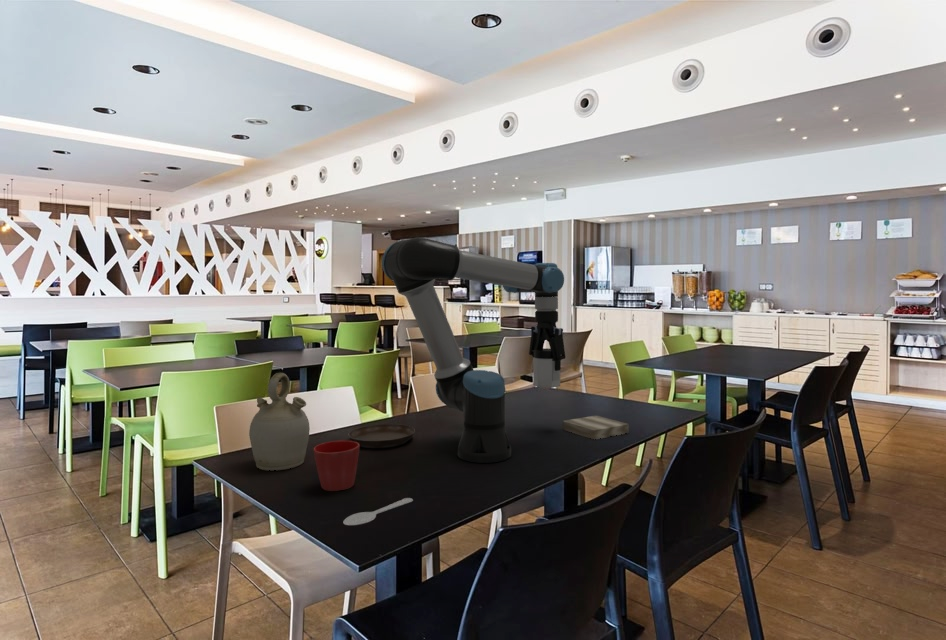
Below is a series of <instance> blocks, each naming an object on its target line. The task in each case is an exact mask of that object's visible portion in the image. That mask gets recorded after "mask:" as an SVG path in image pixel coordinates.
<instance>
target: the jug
mask: <svg viewBox="0 0 946 640" xmlns="http://www.w3.org/2000/svg"><path fill="white" fill-rule="evenodd" d="M279 381H280V383H281V386H280V387H281V389H280V392H279V393H278V391H277V390H278V384H279ZM290 384H291V382H290V378H289V376H288V375H287V374H286V373H284V372H276V373H275V374H273V375H272V376H271V377H270V379H269V382H268V385H267V395H268V398H269V399H270V400H271V403H268V400H266V399H264V398H263V397H261V396H258V397H257V398H256V402H257V403H256V404H257V405H256V407H258V408H259V409H258V411H257V412H256V413H255V414H254V416H253V418H251V422H250V425H249V431H248V433H249V434H248V436H249V440H250V445H251V451H252V455H253V460H254V462H255V466H256V468H257V469H258V468H259V470H260V471H269V470H270V471H271V472H272V471H273V472H274V470H276V471H282V470H283V471H284V470H291V469H294V468H296V467H298V466H301V465H302V464H303V463H304V462H305V458H306V454H307V448H308V444H309V439H310V421H309V418H308V416H307V415H306V411H304V410H303V409H302V408H304V407H306V406H307V402H306V401H305V399H303V398H301V397H299V396H294V397H293V398H292V403H291V402H289V401H288V400H287V396H289V391H290V387H291V385H290ZM290 468H291V469H290Z"/></svg>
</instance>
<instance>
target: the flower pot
mask: <svg viewBox="0 0 946 640" xmlns="http://www.w3.org/2000/svg"><path fill="white" fill-rule="evenodd" d="M360 447H361V446H360V445H359V443H357V442H354V441H352V440H332V441H327V442H322V443H319V444H317V445H316V446H314V447H313V455H314V460H315V461H314V462H315V466H316V471H317V475H318V479H319V483H320V487H321V489H323V490H324V491H328V492H339V491H342V490H343V491H344V490H348V489H350V488H352V487H353V486H354V485H355V480H356V474H357V471H358V462H359V454H360Z"/></svg>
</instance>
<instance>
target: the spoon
mask: <svg viewBox="0 0 946 640" xmlns="http://www.w3.org/2000/svg"><path fill="white" fill-rule="evenodd" d="M413 501H414V499H413V498H411V497H405V498H402V499H401V500H398V501H395V502H393V503H391V504H389V505H386V506H384V507H381V508H379V509H376V510H374V511H364V512H363V511H362V512H357V513H353V514H350V515H349V516H347V517H345V519H343V523H342V524H343V525H345V526H359V525H363V524H367V523H370V522H372V521H373V520H375V519H376V518H377V515H378V514H380V513H384V512H386V511H387V512H388V511H389V510H392V509H395V508H398V507H401V506H403V505H406V504H409V503H412V502H413Z"/></svg>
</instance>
